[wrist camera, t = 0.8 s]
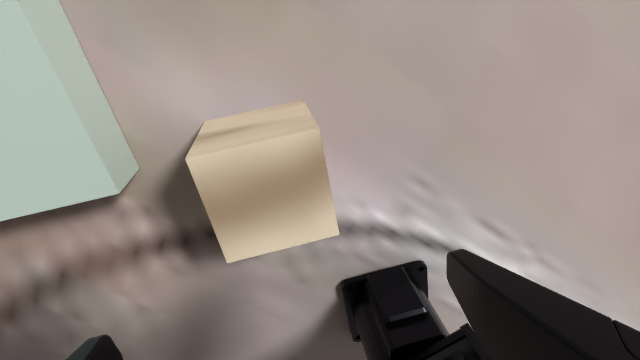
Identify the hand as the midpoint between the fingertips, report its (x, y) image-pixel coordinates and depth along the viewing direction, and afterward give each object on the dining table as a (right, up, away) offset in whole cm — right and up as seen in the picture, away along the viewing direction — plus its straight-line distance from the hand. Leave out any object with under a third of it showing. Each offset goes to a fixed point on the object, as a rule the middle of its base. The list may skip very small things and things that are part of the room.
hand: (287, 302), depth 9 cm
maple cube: (-2, +5, +11) cm, 12 cm away
